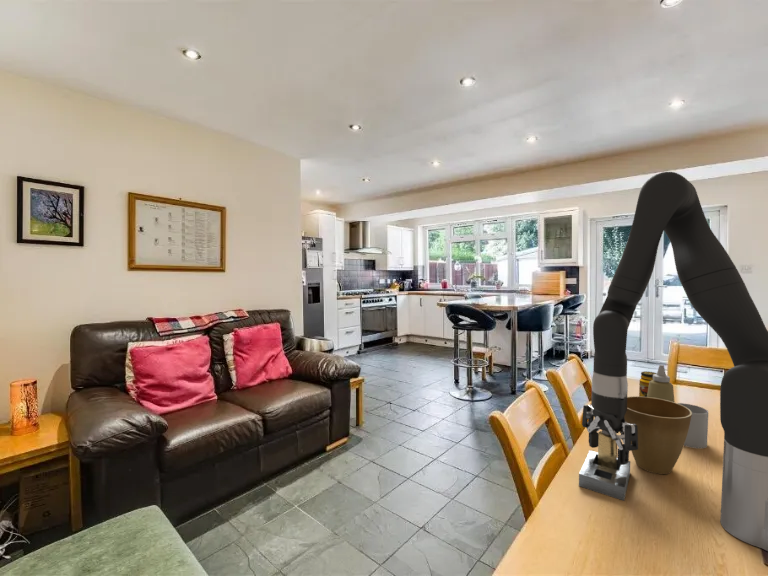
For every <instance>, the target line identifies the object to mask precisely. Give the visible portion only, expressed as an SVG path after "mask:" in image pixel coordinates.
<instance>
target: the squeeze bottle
mask: <svg viewBox="0 0 768 576" xmlns="http://www.w3.org/2000/svg"><path fill="white" fill-rule="evenodd" d="M656 373H657V374H654V375H653V380H651V381H650V382H649V387H648V393H647V397H652V398H658V399H663V400H668V401H671V402H675V390H674V384H673V383H672V382H670V381H671V380H670V379H671V377H670V376H669V375H667V373H666V369H665V366H664V365H663V364H659V366H658V369H657V372H656ZM675 403H676V402H675Z"/></svg>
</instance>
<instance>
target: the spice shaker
mask: <svg viewBox="0 0 768 576" xmlns="http://www.w3.org/2000/svg"><path fill="white" fill-rule="evenodd" d="M598 433H599V436H598V447H597V452H598V465H601V466H604V467H608V468H611V469H615V470H617V455H618V445H617V443H616V441H615V440H613V439H612V436H611V434H609V433H607V431H605V430H603V429H602V430H601V431H600V430H599V431H598Z"/></svg>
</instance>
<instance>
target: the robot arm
mask: <svg viewBox="0 0 768 576" xmlns="http://www.w3.org/2000/svg"><path fill="white" fill-rule="evenodd" d="M663 233H665V235H666V236H667V238H668V240H669V242H670V245H671V247H672V253H673V258H674V265H675V269H676V270H675V271H676V273H677V276H678V279H679V280H678V281H679V282H680V284H681V286H682V288H683V290H684V292H685V295H686V297H687V299H688V301H689V303H690V305H691V306H692V308H693V309H694V310H695V312H696V313H697V314H698V315H699V316H700V317H701V319H703V320H704V321H705V323H706V324H707V325H708V326H709V327H710V328H711V329H712V330H713V331H714V332H715V333H716V334H717V336H718V337H719V338H720V339H721V341H722V343H723V344H724V346H725V348H726V350H727V352H728V354H729V357H730V359H731V361H732V364H733V366H732V367H730V368H729V369H728V370H726V371H725V373H724V374H723V376H722V377H721V378H722V379H721V381H720V389H719V390H720V391H719V397H720V398H719V410H720V411H719V413H720V414H719V415H720V418H719V420H720V425H721V427H722V430H723V434H724V435H723V453H722V455H723V457H722V473H721V475H722V476H721V477H722V478H721V498H720V499H721V501H720V503H721V504H720V524H721V526H722V527H723V529H724V530H725V531H726V532H728V533H729V534H730V535H732V536H733V537H734V538H737V539H738V540H740V541H742V542H744V543H746V544H749V545H751V546H754V547H757V548H760V549H763V550H765V551H767V552H768V329H767V327H766V325H765V323H764V321H763V318H762V317H761V314H760V312H759V310H758V308H757V306H756V304H755V303H754V302H755V301H754V300H753V299H752V296H751V294H750V292H749V290H748V288H747V286H746V284H745V282H744V280H743V277H742V276H741V274H740V272H739V270H738V269H737V267H736V264H735V263H734V262H733V260H732V259H731V256H730V255H729V253H728V252H727V250H726V249H725V248H724V246H723V245H722V243H721V241H720V240H719V239H718V237H716V235H715V233H714V232H713V230H712V228H711V227H710V225H709V223H708V220H707V217H706V215H705V213H704V210H703V208H702V205H701V201H700V197H699V196H698V191H697V189H696V187H695V186H694V185H693V183H692V182H690V181H689V180H688V179H687V178H686V177H685V176H683V175H681V174H679V173H678V172H674V171H664V172H658V173H657V174H654V175H652V176H651V177H650V178H648V179H647V180H646V181H645V182H644V183H643V185H642V187H641V189H640V190H639V194H638V198H637V202H636V206H635V211H634V216H633V220H632V224H631V227H630V232H629V234H628V238H627V241H626V243H625V246H624V249H623V253H622V255H621V257H620V261H619V263H618V265H617V268H616V270H615V272H614V275H613V276H612V280H611V281H610V285H609V287H608V289H607V294H606V295H607V296H606V298H605V299H604V302H603V304H602V306H601V309H600V311H599V313H598V314H597V316H596V317H595V319H594V320H593V327H592V328H593V329H592V335H593V336H592V337H593V339H592V340H593V347H594V353H593V354H594V355H593V371H592V372H593V373H592V377H591V402H590V403H591V404H584V405H583V407H582V419H581V420H582V421H581V425H582V428H585V429H586V430H587V433H588V446H589V447H590V448H598V436H599V432H600V430H601V431H602V429H603V430H605V431H607V433H609V434H611V436H612V439H613V440H615V441H616V443H617V463H618V464H620V465H625V464H627V463H628V462H629V461H630V460H629V459H630V458H629V457H630V452H632V450H638V427H637V425H636V424H629V423H627V422H626V421H625V418H624V416H625V414H626V412H627V397H628V395H629V394H628V392H629V391H628V389H629V387H628V386H629V383H628V356H627V353H626V352H627V342H628V330H629V327H630V325H631V322H632V318H633V317H634V314H635V311H636V308H637V305H638V304H639V303H640V301H641V300H642V298H643V296H644V294H645V291H646V290H647V287H648V285H649V282H650V279H651V277H652V274H653V272H654V268H655V265H656V259H657V253H658V250H659V249H658V248H659V245H660V241H661V240H662V239H661V238H662V236H663ZM631 441H632V444H631Z"/></svg>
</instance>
